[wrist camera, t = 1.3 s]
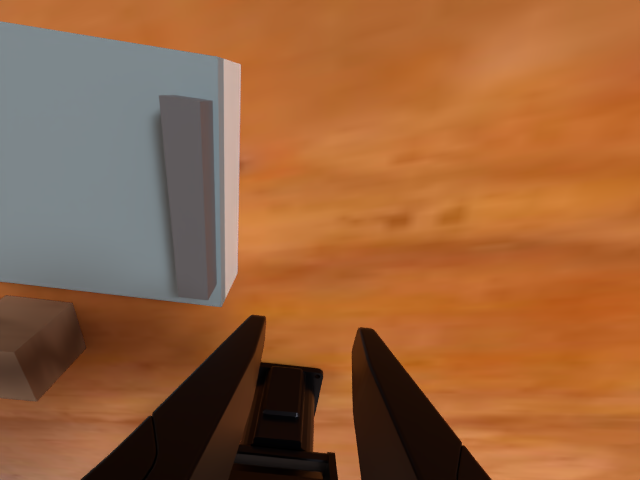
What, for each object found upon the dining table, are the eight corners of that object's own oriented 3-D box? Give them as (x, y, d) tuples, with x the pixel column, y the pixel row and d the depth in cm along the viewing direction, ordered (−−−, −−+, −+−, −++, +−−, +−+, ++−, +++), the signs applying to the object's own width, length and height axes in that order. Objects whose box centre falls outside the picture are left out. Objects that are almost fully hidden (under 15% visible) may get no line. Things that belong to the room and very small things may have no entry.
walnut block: (87, 347, 25) (37, 401, 21) (27, 340, 25) (-37, 394, 21) (73, 302, 23) (14, 352, 19) (7, 294, 23) (-69, 343, 18)
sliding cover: (225, 298, 19) (213, 324, 17) (-18, 270, 18) (-61, 293, 16) (223, 58, 13) (204, 52, 11) (-141, -1, 12) (-236, -20, 10)
